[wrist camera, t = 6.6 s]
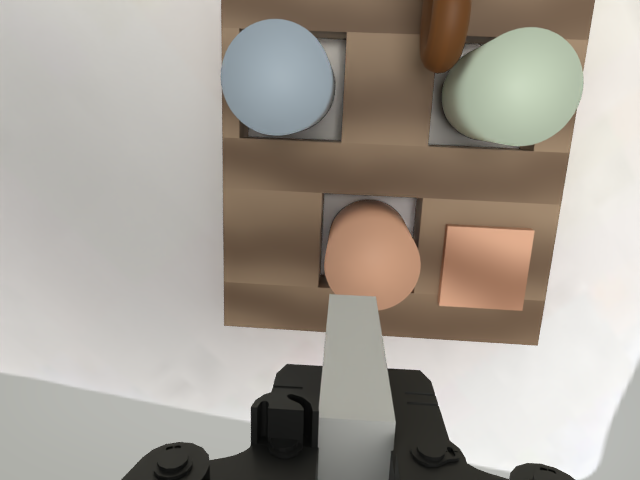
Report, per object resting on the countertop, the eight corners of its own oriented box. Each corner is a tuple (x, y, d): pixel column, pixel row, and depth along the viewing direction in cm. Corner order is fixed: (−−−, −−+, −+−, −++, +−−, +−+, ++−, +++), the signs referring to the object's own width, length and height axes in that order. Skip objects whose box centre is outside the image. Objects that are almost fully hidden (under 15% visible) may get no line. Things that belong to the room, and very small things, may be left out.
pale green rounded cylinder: (446, 45, 27) (473, 25, 21) (539, 48, 26) (592, 29, 21) (437, 138, 28) (460, 143, 22) (526, 141, 28) (572, 148, 22)
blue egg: (247, 38, 27) (220, 17, 21) (337, 41, 27) (333, 20, 21) (247, 129, 28) (221, 133, 23) (333, 133, 28) (328, 137, 22)
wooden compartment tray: (232, -1, 29) (218, -15, 26) (573, 9, 28) (600, -4, 25) (233, 310, 34) (221, 329, 31) (523, 328, 33) (541, 349, 30)
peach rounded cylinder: (330, 197, 31) (326, 216, 25) (410, 201, 30) (425, 221, 25) (327, 273, 32) (322, 308, 26) (404, 277, 32) (416, 313, 26)
